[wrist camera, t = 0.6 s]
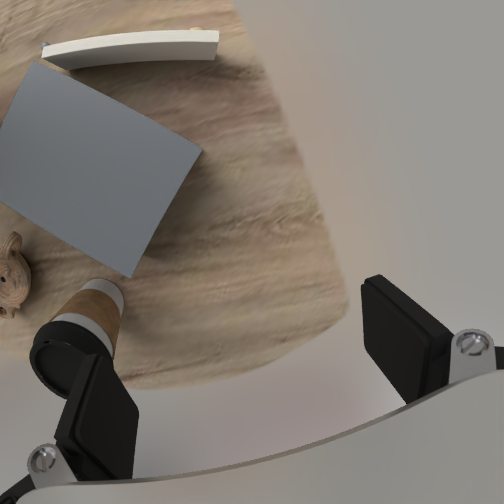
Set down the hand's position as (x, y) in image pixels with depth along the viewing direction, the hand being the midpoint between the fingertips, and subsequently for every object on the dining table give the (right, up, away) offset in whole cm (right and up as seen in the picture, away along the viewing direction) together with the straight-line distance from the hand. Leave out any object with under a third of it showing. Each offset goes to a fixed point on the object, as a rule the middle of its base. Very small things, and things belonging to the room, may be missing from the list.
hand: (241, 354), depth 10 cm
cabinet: (-17, +14, +21) cm, 30 cm away
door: (-12, +25, +17) cm, 33 cm away
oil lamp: (-31, +1, +23) cm, 39 cm away
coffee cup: (-18, -2, +26) cm, 32 cm away
